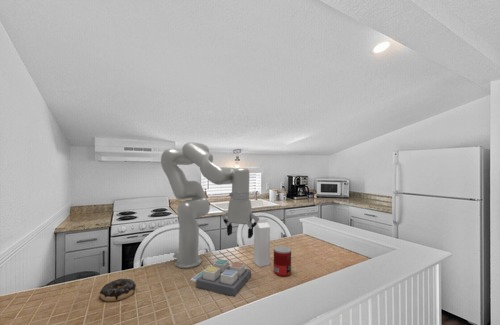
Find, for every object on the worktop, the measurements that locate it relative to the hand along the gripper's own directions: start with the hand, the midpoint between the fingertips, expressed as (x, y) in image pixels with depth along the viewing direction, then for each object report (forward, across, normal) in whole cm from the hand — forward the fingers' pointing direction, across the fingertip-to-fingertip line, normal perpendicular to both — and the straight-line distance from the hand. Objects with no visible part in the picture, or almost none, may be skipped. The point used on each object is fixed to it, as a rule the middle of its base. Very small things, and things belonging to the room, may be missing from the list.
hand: (239, 236), depth 98 cm
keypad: (+19, -5, -4) cm, 20 cm away
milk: (+19, +4, +19) cm, 27 cm away
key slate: (+16, -1, -8) cm, 18 cm away
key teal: (+16, -9, 0) cm, 18 cm away
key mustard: (+16, -9, -8) cm, 20 cm away
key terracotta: (+16, -1, 0) cm, 16 cm away
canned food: (+19, +16, +13) cm, 28 cm away
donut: (+19, -37, -28) cm, 50 cm away
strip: (+19, -17, -4) cm, 25 cm away
